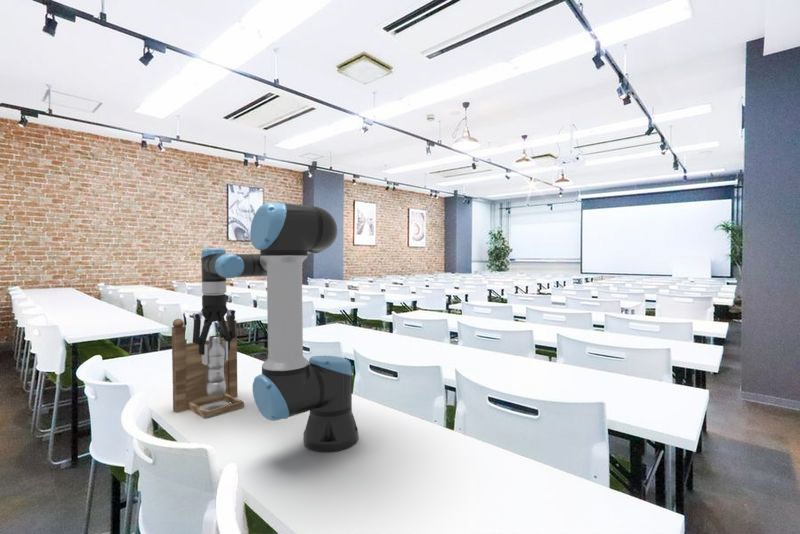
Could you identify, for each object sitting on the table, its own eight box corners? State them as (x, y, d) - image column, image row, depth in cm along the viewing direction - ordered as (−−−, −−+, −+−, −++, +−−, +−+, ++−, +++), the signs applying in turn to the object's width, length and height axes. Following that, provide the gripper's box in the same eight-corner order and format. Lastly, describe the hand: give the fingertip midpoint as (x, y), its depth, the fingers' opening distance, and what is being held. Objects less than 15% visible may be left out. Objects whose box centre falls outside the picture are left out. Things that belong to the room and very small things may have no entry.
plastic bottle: (218, 398, 136) (217, 338, 136) (200, 397, 138) (199, 337, 137) (230, 392, 143) (229, 335, 142) (212, 391, 144) (212, 334, 143)
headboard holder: (255, 404, 144) (254, 316, 143) (191, 422, 128) (190, 323, 127) (233, 394, 154) (232, 312, 153) (172, 410, 138) (171, 318, 137)
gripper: (236, 291, 149) (236, 355, 150) (179, 295, 134) (180, 365, 135) (246, 292, 144) (247, 358, 145) (189, 296, 129) (190, 369, 130)
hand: (215, 361), depth 140 cm, fingers closed on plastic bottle, 6 cm apart
